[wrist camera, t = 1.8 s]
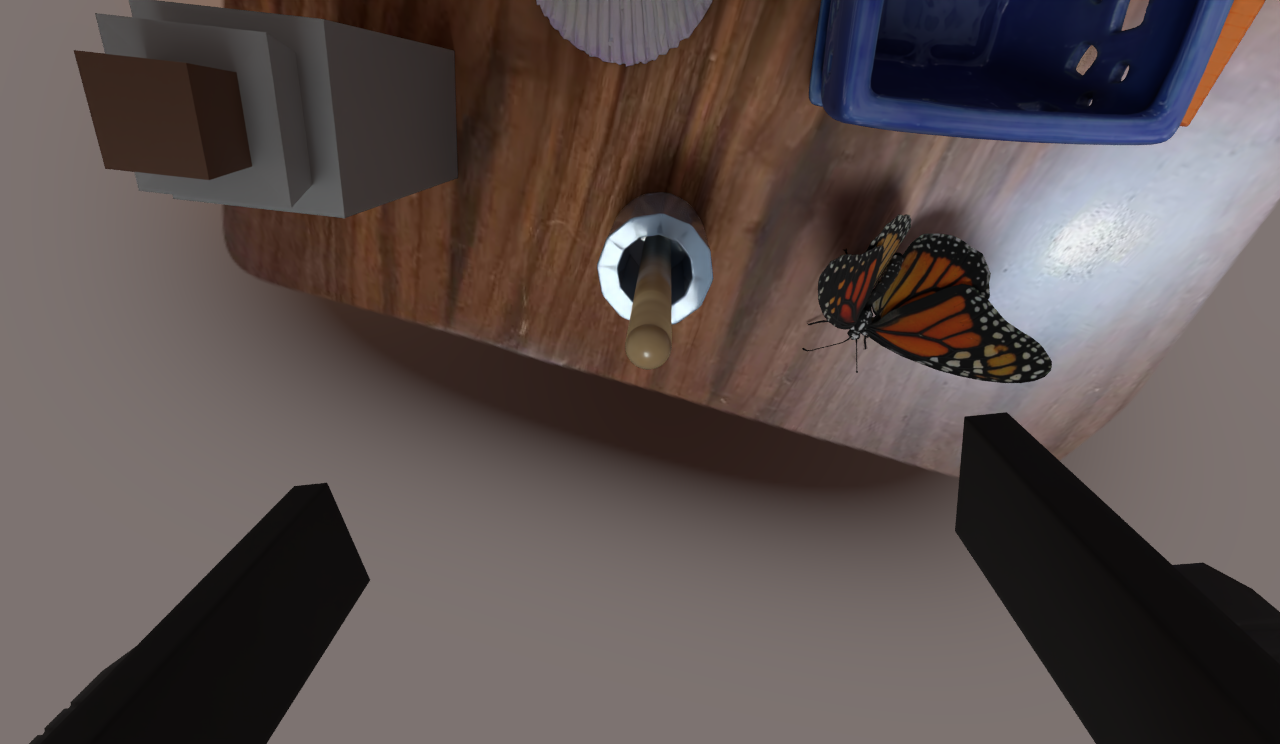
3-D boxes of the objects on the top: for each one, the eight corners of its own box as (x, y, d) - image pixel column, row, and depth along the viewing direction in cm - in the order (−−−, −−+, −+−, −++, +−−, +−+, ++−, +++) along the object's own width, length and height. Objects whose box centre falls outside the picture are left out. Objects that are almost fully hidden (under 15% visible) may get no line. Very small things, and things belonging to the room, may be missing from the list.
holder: (600, 263, 37) (583, 302, 30) (632, 177, 35) (621, 196, 28) (682, 295, 38) (685, 342, 30) (718, 212, 35) (731, 241, 28)
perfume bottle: (457, 178, 35) (274, 242, 19) (346, 165, 35) (66, 219, 19) (454, 50, 32) (235, -3, 16) (332, 36, 32) (-9, -30, 16)
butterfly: (739, 317, 38) (761, 383, 29) (816, 171, 34) (869, 196, 25) (902, 386, 40) (971, 470, 31) (993, 254, 36) (1102, 306, 27)
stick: (640, 248, 36) (616, 367, 20) (650, 224, 35) (633, 325, 19) (665, 258, 36) (660, 383, 20) (675, 234, 35) (679, 343, 19)
